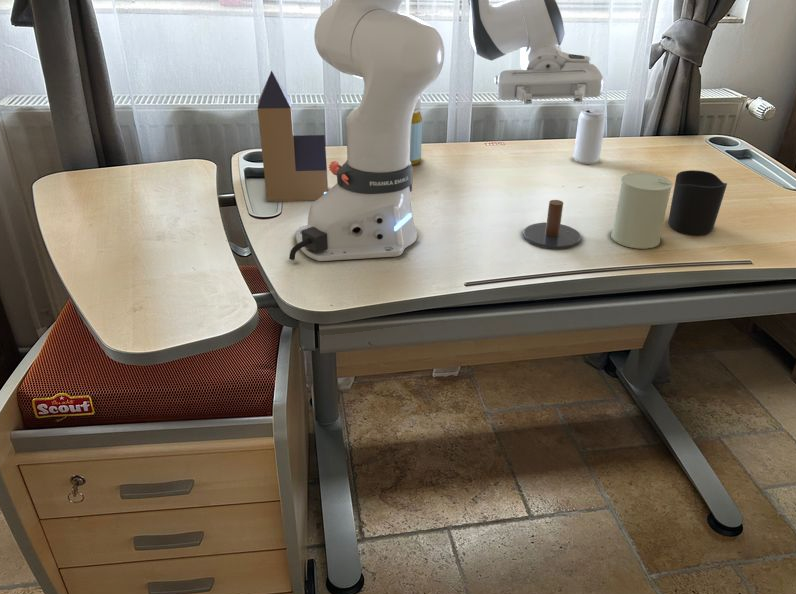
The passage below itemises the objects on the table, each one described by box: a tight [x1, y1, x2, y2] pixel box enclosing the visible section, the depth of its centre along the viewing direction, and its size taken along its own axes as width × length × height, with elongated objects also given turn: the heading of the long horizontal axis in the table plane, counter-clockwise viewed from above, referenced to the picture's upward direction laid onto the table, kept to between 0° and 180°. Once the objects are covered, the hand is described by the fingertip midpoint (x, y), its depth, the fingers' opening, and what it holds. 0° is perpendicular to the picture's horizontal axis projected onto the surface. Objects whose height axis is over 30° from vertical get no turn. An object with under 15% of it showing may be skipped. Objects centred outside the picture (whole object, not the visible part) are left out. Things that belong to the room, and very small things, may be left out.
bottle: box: [410, 96, 423, 166], centre depth 167 cm, size 7×7×15 cm
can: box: [610, 171, 673, 250], centre depth 135 cm, size 9×9×12 cm
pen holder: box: [667, 169, 728, 236], centre depth 141 cm, size 9×9×10 cm
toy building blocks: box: [257, 70, 329, 203], centre depth 149 cm, size 12×19×25 cm, turn 10°
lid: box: [523, 199, 581, 250], centre depth 135 cm, size 11×11×7 cm
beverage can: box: [572, 107, 607, 165], centre depth 172 cm, size 6×6×12 cm
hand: (553, 99), depth 134 cm, fingers open, 8 cm apart
